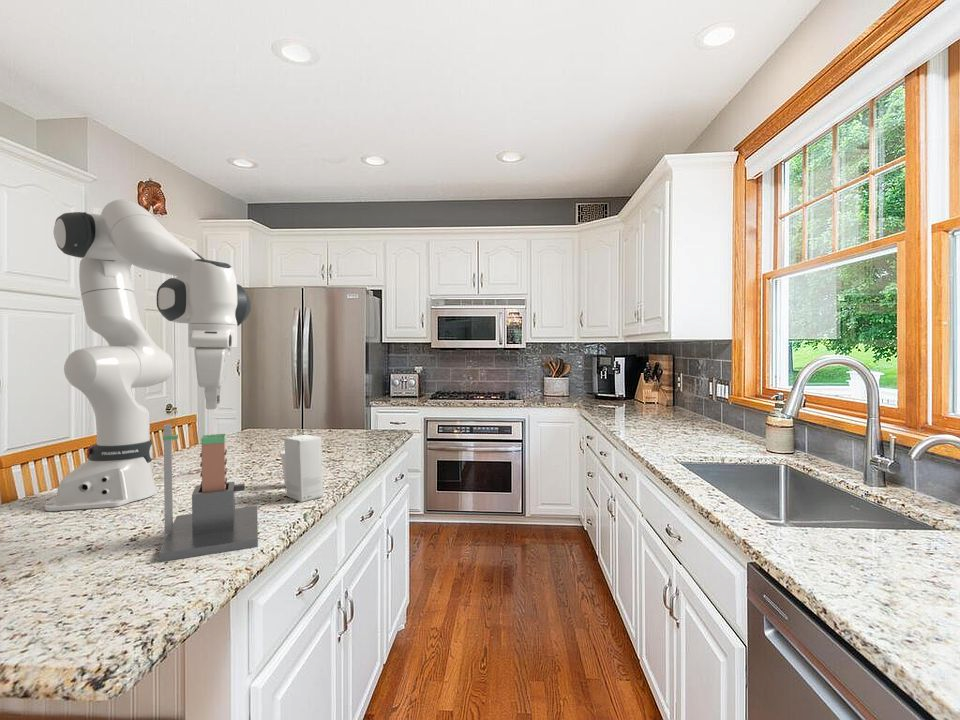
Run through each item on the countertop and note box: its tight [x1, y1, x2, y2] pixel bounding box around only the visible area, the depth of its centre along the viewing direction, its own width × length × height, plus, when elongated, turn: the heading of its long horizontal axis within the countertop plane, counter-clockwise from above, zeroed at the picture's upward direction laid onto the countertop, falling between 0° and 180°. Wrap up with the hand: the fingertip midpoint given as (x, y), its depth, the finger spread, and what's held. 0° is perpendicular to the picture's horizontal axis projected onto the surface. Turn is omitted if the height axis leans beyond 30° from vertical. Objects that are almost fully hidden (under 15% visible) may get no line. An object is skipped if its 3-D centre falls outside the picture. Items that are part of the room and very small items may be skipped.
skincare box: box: [284, 434, 324, 503], centre depth 124 cm, size 8×7×16 cm
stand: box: [158, 424, 259, 563], centre depth 99 cm, size 17×22×23 cm
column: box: [199, 433, 228, 492], centre depth 99 cm, size 5×4×12 cm
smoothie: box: [279, 435, 295, 488], centre depth 134 cm, size 6×6×14 cm
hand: (213, 406), depth 99 cm, fingers open, 8 cm apart
